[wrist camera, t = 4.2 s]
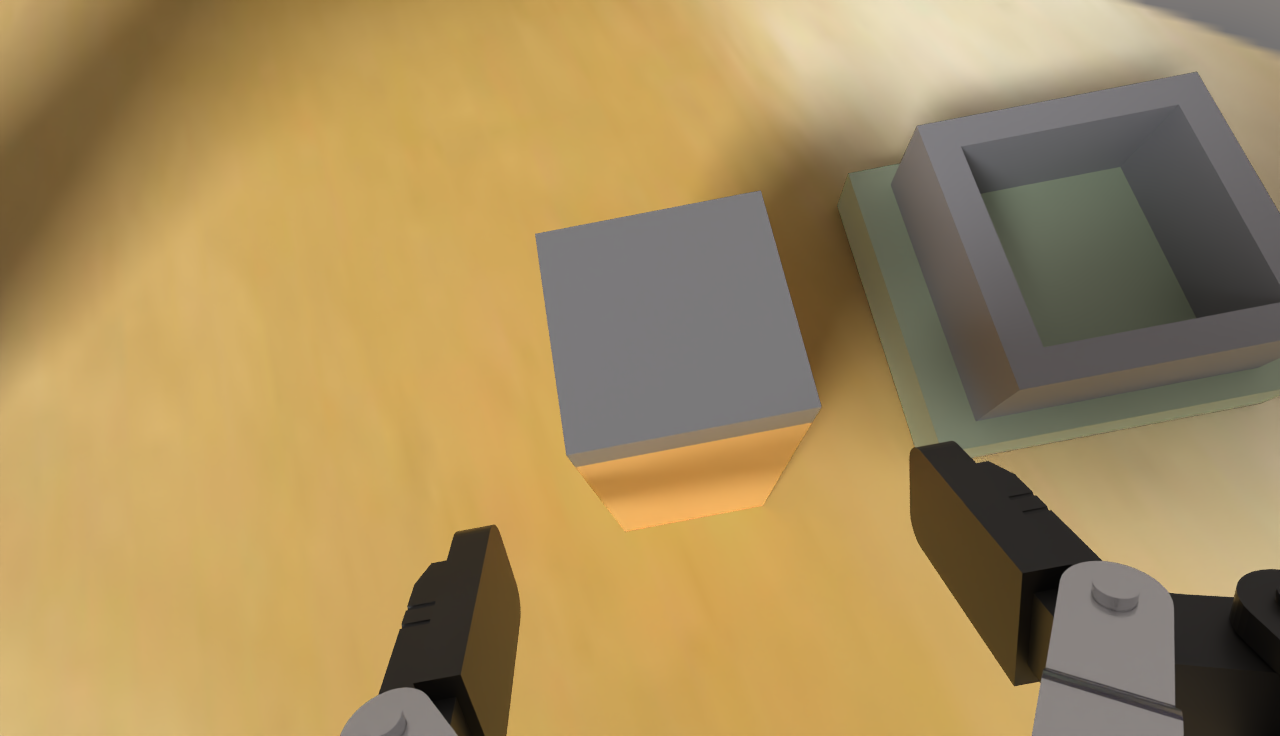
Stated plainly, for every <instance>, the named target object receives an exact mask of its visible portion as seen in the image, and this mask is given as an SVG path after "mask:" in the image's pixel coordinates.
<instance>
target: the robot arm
mask: <svg viewBox="0 0 1280 736" xmlns="http://www.w3.org/2000/svg"><path fill="white" fill-rule="evenodd" d="M909 461H910V516H911V522H912V527H913V530H914V534H915V536H916V539H917V541H918V543H919V545H920V547H921V548H922V550H923V551H924V553H925V554H926V556H927V557H928V559H929V560H930V562H931V563H932V565H933V566H934V568H935V569H936V571H937V572H938V574H939V575H940V577H941V578H942V580H943V581H944V583H945V584H946V585H947V587H948V588H949V590H950V591H951V593H952V594H953V596H954V597H955V599H956V600H957V602H958V603H959V605H960V606H961V608H962V609H963V611H964V612H965V614H966V615H967V617H968V618H969V620H970V621H971V623H972V624H973V626H974V627H975V629H976V630H977V632H978V633H979V635H980V636H981V638H982V639H983V640H984V642H985V643H986V645H987V646H988V648H989V649H990V651H991V652H992V654H993V655H994V657H995V658H996V660H997V661H998V663H999V664H1000V666H1001V667H1002V669H1003V670H1004V672H1005V673H1006V675H1007V676H1008V678H1009V679H1010V681H1011V682H1012V684H1013V685H1014V686H1018V685H1023V684H1029V683H1034V682H1040V683H1041V684H1040V690H1039V696H1038V702H1037V708H1036V714H1035V720H1034V726H1033V732H1032V736H1280V570H1276V569H1268V570H1259V571H1254V572H1251V573H1248V574H1246V575H1245V576H1243V577H1242V578H1241V579H1240V580H1239V581H1238V584H1237V587H1236V591H1235V595H1234V597H1219V596H1202V595H1185V594H1174V593H1168V591H1167V590H1166V589H1165V588H1164V587H1163V586H1162V585H1161V584H1160V583H1159V582H1158V581H1156V580H1155V579H1154V578H1152V577H1151V576H1149V575H1147V574H1145V573H1144V572H1141V571H1139V570H1137V569H1135V568H1132V567H1129V566H1126V565H1122V564H1119V563H1113V562H1107V561H1102V560H1101V559H1100V558H1099V557H1098V556H1097V555H1096V554H1095V553H1094V552H1093V551H1092V550H1091V549H1090V548H1089V547H1088V546H1087V545H1086V544H1085V543H1084V542H1083V541H1082V540H1081V539H1080V538H1079V537H1078V536H1077V535H1076V534H1075V533H1074V532H1073V531H1072V530H1071V529H1070V528H1069V527H1068V526H1067V525H1066V524H1065V523H1064V522H1062V521H1061V520H1060V519H1059V518H1058V517H1057V516H1056V515H1055V514H1054V513H1053V512H1052V511H1051V510H1050V511H1049V510H1048V508H1047V506H1046V505H1045V504H1044V503H1043V502H1042V501H1041V500H1040V499H1039V498H1038V497H1037V496H1034V495H1033V492H1032V491H1031V490H1030V489H1029V488H1028V487H1027V486H1026V485H1025V484H1024V483H1023V482H1022V481H1021V480H1020V479H1019V478H1018V477H1017V476H1016V475H1015V474H1013V473H1011V472H1009V471H1007V470H1005V469H1003V468H1001V467H999V466H997V465H995V464H993V463H991V462H989V461H986V462H981V463H975V461H974V460H973V459H972V458H971V457H970V456H969V455H968V454H967V453H966V452H965V451H964V450H963V449H962V448H961V447H960V446H959V445H958V444H957V443H956V442H955V441H947V442H942V443H936V444H931V445H926V446H920V447H915V448H912V450H911V452H910V460H909ZM407 607H408V610H407V611H406V612H405V615H404V618H403V621H402V629H400V631H399V634H398V637H397V640H396V643H395V646H394V649H393V652H392V655H391V658H390V661H389V664H388V667H387V670H386V673H385V676H384V679H383V683H382V686H381V689H380V692H379V695H378V696H376V697H374V698H372V699H371V700H369V701H368V702H366V703H365V704H364V705H363V706H361V707H360V708H359V709H358V710H357V711H356V712H355V713H354V714H353V715H352V717H351V718H350V719H349V720H348V722H347V723H346V725H345V726H344V728H343V730H342V732H341V735H340V736H506V734H507V726H508V717H509V709H510V701H511V692H512V684H513V676H514V667H515V659H516V651H517V642H518V634H519V626H520V599H519V593H518V588H517V585H516V581H515V578H514V575H513V572H512V569H511V566H510V563H509V560H508V557H507V554H506V550H505V547H504V544H503V541H502V538H501V535H500V532H499V530H498V528H497V527H496V525H490V526H485V527H479V528H474V529H469V530H463V531H458V532H456V533H455V534H454V537H453V540H452V544H451V547H450V551H449V555H448V558H447V561H442V562H436V563H431V565H430V566H429V567H428V568H427V570H426V571H425V572H424V573H423V575H422V576H421V577H420V578H419V580H418V581H417V582H416V583H415V585H414V588H413V591H412V594H411V597H410V600H409V603H408V606H407Z"/></svg>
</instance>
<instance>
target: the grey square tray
mask: <svg viewBox="0 0 1280 736" xmlns="http://www.w3.org/2000/svg"><path fill="white" fill-rule="evenodd" d="M837 207H838V210H839V213H840V216H841V219H842V222H843V226H844V229H845V232H846V235H847V238H848V241H849V244H850V247H851V250H852V253H853V256H854V260H855V263H856V266H857V269H858V272H859V275H860V278H861V281H862V284H863V287H864V290H865V294H866V297H867V300H868V303H869V306H870V309H871V312H872V315H873V318H874V321H875V325H876V328H877V331H878V334H879V337H880V340H881V343H882V346H883V349H884V352H885V355H886V359H887V362H888V365H889V368H890V371H891V374H892V377H893V380H894V383H895V386H896V390H897V393H898V396H899V399H900V402H901V405H902V408H903V411H904V414H905V417H906V420H907V424H908V427H909V430H910V433H911V436H912V439H913V442H914V445H915V447H920V446H926V445H931V444H936V443H942V442H947V441H955V442H956V443H957V444H958V445H959V446H960V447H961V448H962V449H963V450H964V451H965V452H966V453H967V454H968V455H969V456H970V457H971V458H974V457H979V456H985V455H990V454H995V453H1000V452H1006V451H1011V450H1016V449H1022V448H1027V447H1032V446H1037V445H1043V444H1048V443H1053V442H1059V441H1064V440H1069V439H1074V438H1080V437H1085V436H1090V435H1096V434H1101V433H1106V432H1111V431H1117V430H1122V429H1127V428H1133V427H1138V426H1143V425H1148V424H1154V423H1159V422H1164V421H1170V420H1175V419H1180V418H1186V417H1191V416H1196V415H1201V414H1207V413H1212V412H1217V411H1223V410H1228V409H1233V408H1238V407H1244V406H1249V405H1254V404H1260V403H1263V402H1265V401H1268V400H1270V399H1273V398H1276V397H1278V396H1280V213H1279V211H1278V210H1277V208H1276V206H1275V204H1274V203H1273V201H1272V199H1271V198H1270V196H1269V194H1268V192H1267V191H1266V189H1265V187H1264V186H1263V184H1262V182H1261V180H1260V179H1259V177H1258V175H1257V174H1256V172H1255V170H1254V168H1253V167H1252V165H1251V163H1250V162H1249V160H1248V158H1247V156H1246V155H1245V153H1244V151H1243V150H1242V148H1241V146H1240V145H1239V143H1238V141H1237V139H1236V138H1235V136H1234V134H1233V133H1232V131H1231V129H1230V127H1229V126H1228V124H1227V122H1226V121H1225V119H1224V117H1223V115H1222V114H1221V112H1220V110H1219V109H1218V107H1217V105H1216V103H1215V102H1214V100H1213V98H1212V97H1211V95H1210V93H1209V91H1208V90H1207V88H1206V86H1205V85H1204V83H1203V81H1202V79H1201V78H1200V76H1199V74H1198V73H1197V72H1193V73H1188V74H1183V75H1178V76H1173V77H1167V78H1162V79H1157V80H1152V81H1147V82H1142V83H1136V84H1131V85H1126V86H1121V87H1116V88H1111V89H1105V90H1100V91H1095V92H1090V93H1085V94H1079V95H1074V96H1069V97H1064V98H1059V99H1054V100H1048V101H1043V102H1038V103H1033V104H1028V105H1023V106H1017V107H1012V108H1007V109H1002V110H997V111H991V112H986V113H981V114H976V115H971V116H966V117H960V118H955V119H950V120H945V121H940V122H935V123H929V124H924V125H919V126H917V127H916V129H915V131H914V134H913V136H912V138H911V140H910V143H909V145H908V147H907V149H906V151H905V154H904V156H903V158H902V160H901V163H900V164H895V165H889V166H884V167H879V168H874V169H869V170H863V171H858V172H853V173H848V176H847V179H846V182H845V185H844V187H843V190H842V193H841V196H840V199H839V202H838V205H837Z"/></svg>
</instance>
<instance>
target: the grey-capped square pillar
mask: <svg viewBox="0 0 1280 736" xmlns="http://www.w3.org/2000/svg"><path fill="white" fill-rule="evenodd" d="M535 237H536V244H537V251H538V258H539V265H540V272H541V279H542V286H543V293H544V300H545V307H546V314H547V321H548V329H549V336H550V343H551V350H552V357H553V364H554V371H555V378H556V385H557V392H558V399H559V406H560V414H561V421H562V428H563V435H564V442H565V449H566V455H567V457H568V458H569V459H570V461H571V462H572V463H573V465H574V466H575V467H576V469H577V470H578V471H579V472H580V474H581V475H582V476H583V478H584V479H585V480H586V482H587V483H588V484H589V485H590V487H591V488H592V489H593V491H594V492H595V493H596V495H597V496H598V497H599V498H600V500H601V501H602V502H603V504H604V505H605V506H606V508H607V509H608V510H609V511H610V513H611V514H612V515H613V517H614V518H615V519H616V521H617V522H618V523H619V524H620V526H621V527H622V528H623V530H624V531H625V532H626V531H631V530H637V529H642V528H647V527H652V526H658V525H663V524H668V523H674V522H679V521H684V520H690V519H695V518H700V517H705V516H711V515H716V514H721V513H727V512H732V511H737V510H742V509H748V508H753V507H758V506H763V504H764V503H765V501H766V499H767V498H768V496H769V494H770V493H771V491H772V489H773V487H774V486H775V484H776V482H777V481H778V479H779V477H780V476H781V474H782V472H783V471H784V469H785V467H786V466H787V464H788V462H789V461H790V459H791V457H792V456H793V454H794V452H795V451H796V449H797V447H798V445H799V444H800V442H801V440H802V439H803V437H804V435H805V434H806V432H807V430H808V429H809V427H810V425H811V424H812V422H813V420H814V419H815V417H816V415H817V414H818V412H819V410H820V409H821V403H820V400H819V396H818V393H817V389H816V386H815V382H814V378H813V375H812V371H811V368H810V364H809V361H808V357H807V354H806V350H805V346H804V343H803V339H802V336H801V332H800V329H799V325H798V321H797V318H796V314H795V311H794V307H793V304H792V300H791V296H790V293H789V289H788V286H787V282H786V279H785V275H784V271H783V268H782V264H781V261H780V257H779V254H778V250H777V247H776V243H775V239H774V236H773V232H772V229H771V225H770V222H769V218H768V214H767V211H766V207H765V204H764V200H763V197H762V193H761V191H756V192H751V193H745V194H740V195H735V196H730V197H725V198H719V199H714V200H709V201H704V202H699V203H693V204H688V205H683V206H678V207H673V208H667V209H662V210H657V211H652V212H647V213H642V214H636V215H631V216H626V217H621V218H616V219H610V220H605V221H600V222H595V223H590V224H584V225H579V226H574V227H569V228H564V229H558V230H553V231H548V232H543V233H538V234H535Z"/></svg>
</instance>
